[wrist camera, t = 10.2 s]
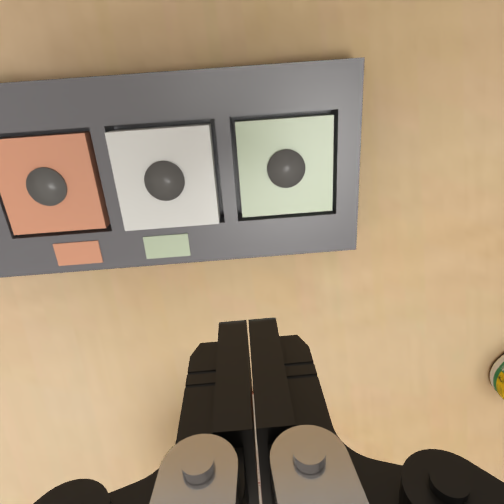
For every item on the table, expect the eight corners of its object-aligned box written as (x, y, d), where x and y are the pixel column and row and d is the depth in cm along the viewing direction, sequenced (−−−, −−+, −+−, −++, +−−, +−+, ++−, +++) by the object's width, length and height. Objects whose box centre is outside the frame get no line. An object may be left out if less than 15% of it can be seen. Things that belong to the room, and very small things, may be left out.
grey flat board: (-161, 96, 23) (-202, 97, 21) (352, 60, 24) (364, 57, 22) (-82, 271, 28) (-109, 286, 26) (346, 237, 29) (356, 249, 26)
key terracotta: (0, 137, 24) (-20, 140, 22) (94, 130, 24) (83, 133, 22) (27, 226, 26) (12, 236, 25) (113, 219, 26) (104, 229, 25)
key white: (113, 129, 23) (103, 133, 21) (210, 122, 23) (208, 125, 22) (132, 222, 26) (124, 232, 24) (220, 215, 26) (219, 224, 24)
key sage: (234, 120, 24) (234, 122, 22) (327, 113, 24) (334, 115, 23) (241, 209, 27) (242, 218, 25) (326, 203, 27) (333, 211, 25)
